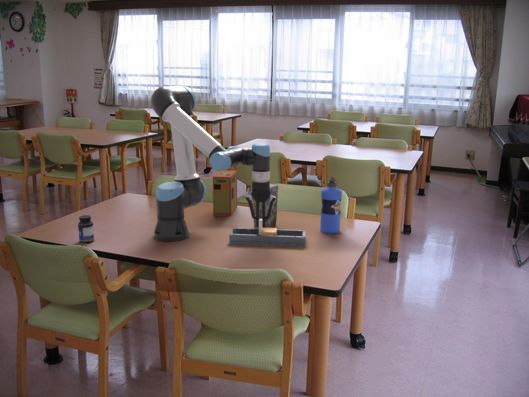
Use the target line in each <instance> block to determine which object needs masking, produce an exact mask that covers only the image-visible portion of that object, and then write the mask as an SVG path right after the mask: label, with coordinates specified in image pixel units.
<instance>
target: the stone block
mask: <svg viewBox="0 0 529 397" xmlns="http://www.w3.org/2000/svg"><path fill="white" fill-rule="evenodd" d="M270 192H271V195H272V196H275V197H276V199H275V201H274V202H273V206H272V210H271V213H270V217H269V219H266V220H265V227H263V228H274V227H275V226H277V219H278V216H277V215H278V198H279V195H278V194H279V193H278V192H279V186H278V185H277V184H273V183H270ZM270 202H271V200H270V197H269V199H268V200H267V201H266V216H267V213H268V209H269V206H270ZM252 204H253V208H254V212H255V215H256V201H255V200H254V199H253V198H252ZM259 219H262V202H260V218H259ZM253 228H258V229H259V227H257V226H256V219H253Z"/></svg>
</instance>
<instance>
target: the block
mask: <svg viewBox="0 0 529 397" xmlns="http://www.w3.org/2000/svg"><path fill="white" fill-rule="evenodd" d="M277 229H278V228H277V227H271V228H263V230H262V235H277Z"/></svg>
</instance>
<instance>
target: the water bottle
mask: <svg viewBox="0 0 529 397" xmlns="http://www.w3.org/2000/svg"><path fill="white" fill-rule="evenodd" d="M336 181H337V179H336V178H335V177H333V176H331V177H329V178H327V181H326V185H327V186H326V187H324V188H322V189H321V190H320V191H321V192H320V198H321V210H320V226H319V227H320V232H321V233H322V234H327V235H328V234H329V235H335V234H339V233H341V217H342V215H341V214H342V211H341V203H342V198H343V190H342V189H340V188H338V187H337V182H336Z"/></svg>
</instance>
